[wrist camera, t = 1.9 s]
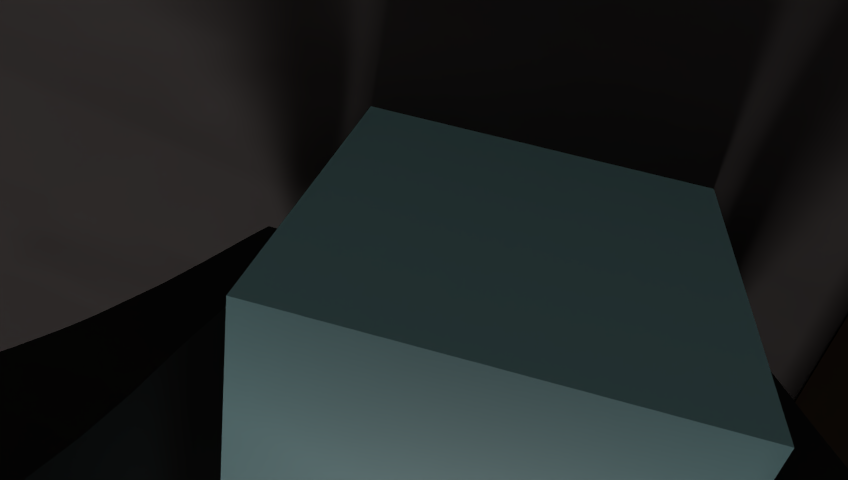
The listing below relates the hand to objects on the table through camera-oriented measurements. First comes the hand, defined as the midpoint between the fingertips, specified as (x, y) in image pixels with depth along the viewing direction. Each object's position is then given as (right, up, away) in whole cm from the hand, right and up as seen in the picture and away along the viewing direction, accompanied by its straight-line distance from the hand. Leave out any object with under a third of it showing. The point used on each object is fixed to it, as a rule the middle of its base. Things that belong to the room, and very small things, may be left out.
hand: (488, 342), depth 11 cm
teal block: (0, +1, +1) cm, 2 cm away
